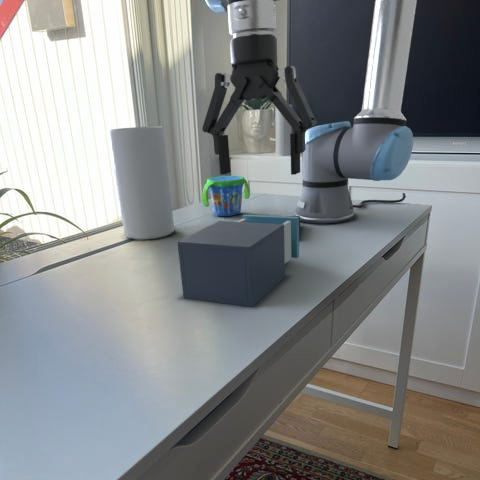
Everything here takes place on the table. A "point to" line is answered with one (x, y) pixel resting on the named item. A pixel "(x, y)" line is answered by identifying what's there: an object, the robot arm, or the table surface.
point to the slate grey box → (232, 262)
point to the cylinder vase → (142, 181)
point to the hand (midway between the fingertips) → (259, 173)
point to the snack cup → (225, 194)
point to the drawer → (289, 231)
